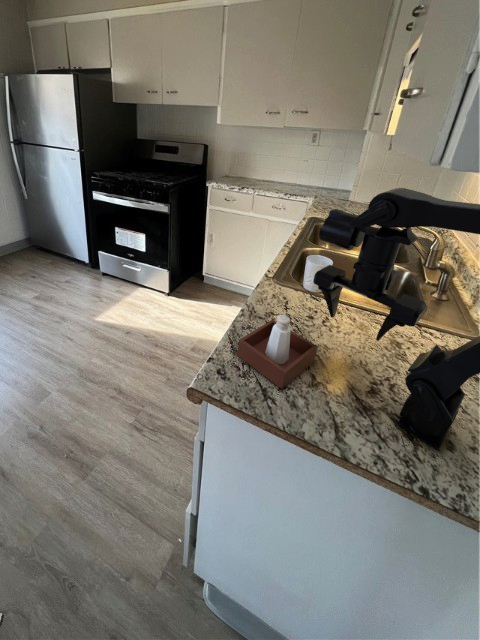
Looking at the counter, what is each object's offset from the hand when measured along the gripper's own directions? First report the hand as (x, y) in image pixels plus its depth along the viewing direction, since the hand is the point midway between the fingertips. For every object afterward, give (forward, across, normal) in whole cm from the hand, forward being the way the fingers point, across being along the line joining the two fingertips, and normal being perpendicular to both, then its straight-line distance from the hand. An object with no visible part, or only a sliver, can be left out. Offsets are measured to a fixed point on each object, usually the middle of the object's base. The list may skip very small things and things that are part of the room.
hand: (354, 327), depth 63 cm
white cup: (+13, +24, -30) cm, 41 cm away
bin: (+13, +12, +7) cm, 19 cm away
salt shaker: (+13, +12, +7) cm, 19 cm away
